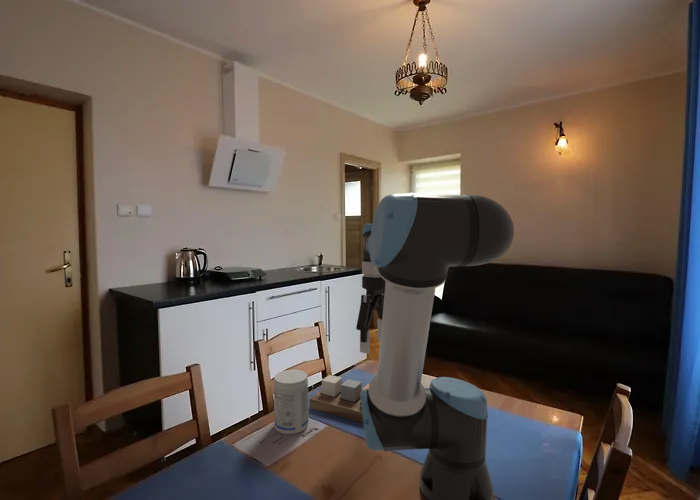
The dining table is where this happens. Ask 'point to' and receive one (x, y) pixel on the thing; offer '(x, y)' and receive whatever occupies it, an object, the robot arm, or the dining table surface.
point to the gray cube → (351, 390)
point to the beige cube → (331, 385)
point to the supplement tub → (290, 401)
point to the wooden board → (337, 406)
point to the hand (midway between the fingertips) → (373, 346)
